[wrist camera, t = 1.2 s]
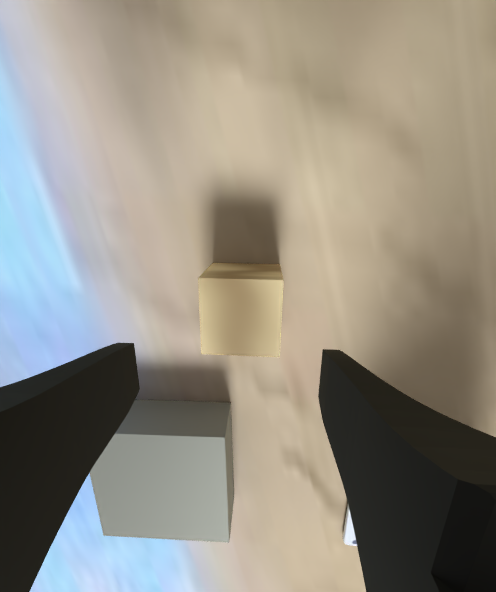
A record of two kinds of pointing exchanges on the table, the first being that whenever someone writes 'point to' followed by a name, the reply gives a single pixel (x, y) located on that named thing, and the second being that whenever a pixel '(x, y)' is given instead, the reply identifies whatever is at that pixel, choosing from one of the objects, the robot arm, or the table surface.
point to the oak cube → (241, 309)
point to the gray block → (168, 472)
